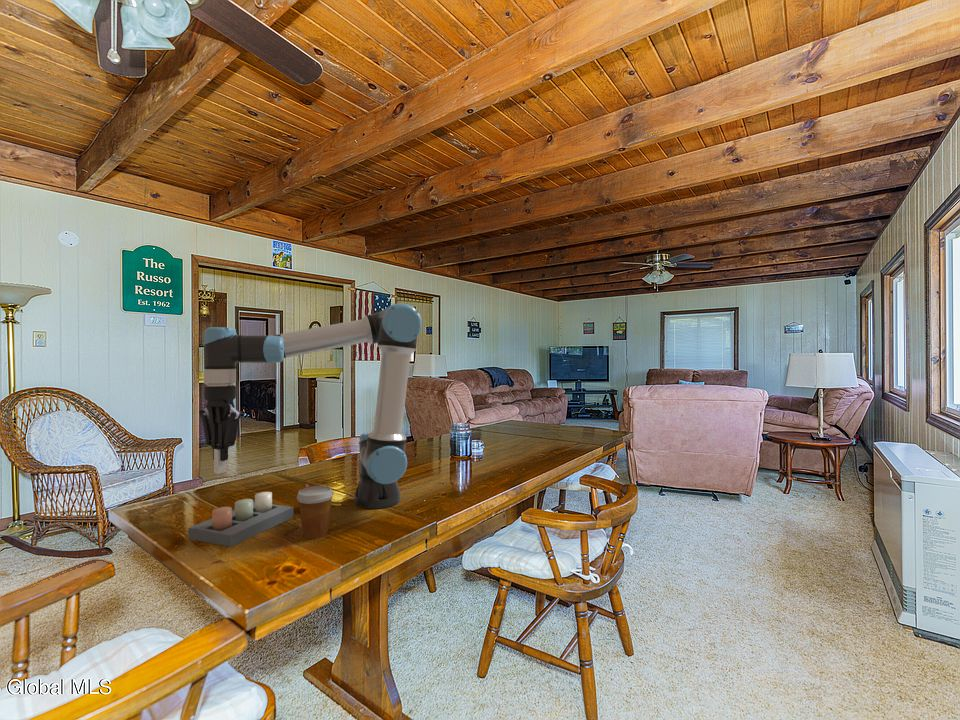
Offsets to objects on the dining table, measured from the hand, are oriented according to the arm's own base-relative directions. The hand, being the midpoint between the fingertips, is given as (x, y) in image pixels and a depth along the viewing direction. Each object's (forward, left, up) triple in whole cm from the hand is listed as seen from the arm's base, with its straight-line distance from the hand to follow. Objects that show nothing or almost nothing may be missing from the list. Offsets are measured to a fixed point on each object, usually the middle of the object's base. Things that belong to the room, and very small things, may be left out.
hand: (220, 472), depth 120 cm
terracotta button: (0, 0, -15) cm, 15 cm away
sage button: (0, -7, -15) cm, 17 cm away
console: (0, -7, -18) cm, 19 cm away
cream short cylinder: (0, -14, -15) cm, 21 cm away
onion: (-7, -25, -18) cm, 32 cm away
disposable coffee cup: (-23, -10, -18) cm, 31 cm away
